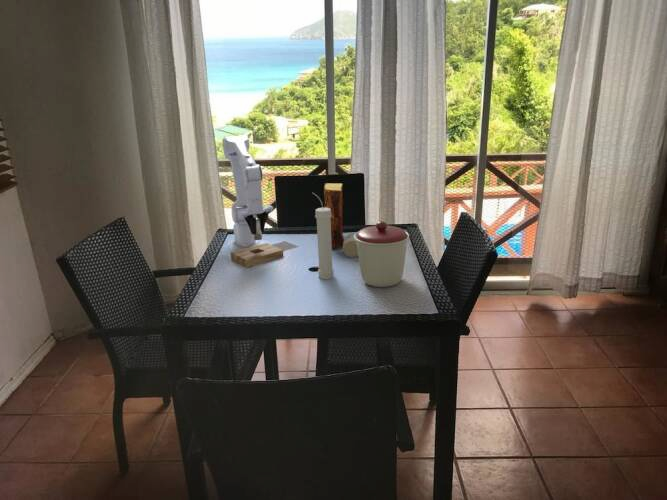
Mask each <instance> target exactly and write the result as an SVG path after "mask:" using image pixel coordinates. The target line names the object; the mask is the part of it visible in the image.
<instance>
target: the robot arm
mask: <svg viewBox="0 0 667 500" xmlns="http://www.w3.org/2000/svg"><path fill="white" fill-rule="evenodd" d="M222 148H223V155H224V158H225V159H226V160H229V162H230V166H231V172H232V178H233V183H234V189H235V195H236V199H235V201H234V202H233V203H232V204H231V207H230V209H231V216H232V222H233V223H234V224H233V227H232V228H233V237H234V240H232V242H233V243H235V244H237V245H239V246H242V247H243V248H245V247H250V246H254V245H256V244H257V245H258V244H261V240H254V235H255V234H256V227H255V224H256V218H260V219H261V231H262V233H264V232H265V227H266V223H267V221H268V219H269V212H271V213H272V212H274V206H272V205H266V206H264V203H263V191H262V181H263V170H262V169H263V168H262V167H261V164H257V163H256V161H255V158H254V157H253V156H252V155H251V154H249V149H250V139H249V137H248V136H247V135H246V134H244V135H235V136H224V137H222Z"/></svg>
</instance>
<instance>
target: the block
mask: <svg viewBox="0 0 667 500" xmlns="http://www.w3.org/2000/svg"><path fill="white" fill-rule="evenodd" d="M283 257H284V251H283V250H282V249H280V248H277V247H275V246H272V244H270V243H267V242H263V243H259V244H257V245H256V244H255V245H251V246H248V247H246V248H245V247H244V248H242V249H238V250H234V251H231V252H230V258H231V261H234V262H235V263H237V264H238V265H242V266H243V267H245V268H247V269H248V268H252V267H253V266H256V265H259V264H261V263H265V262H269V261H272V260H276V259H279V258H283Z"/></svg>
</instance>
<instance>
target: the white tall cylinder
mask: <svg viewBox="0 0 667 500" xmlns="http://www.w3.org/2000/svg"><path fill="white" fill-rule="evenodd" d="M311 193H312V194H313V195H315V196H316V197H317V199H318V200H319V201H320V203H321V206H322V207H318V208H316V209H315V215H314V219H315V218H316V230H317V231H316V235H317V251H318V253H317V254H318V269H317V273H318V278H319V279H321V280H330V279H333V277H334V276H335V275H334V273H335V270H334V267H333V253H332V252H333V249H332V244H331V219H330V218H331V217H332V214H331V209H330V208H325V207H324V206H323V201H322V200H321V198H320V196H318V195H317V194H315V193H314V192H311Z"/></svg>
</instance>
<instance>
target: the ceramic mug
mask: <svg viewBox="0 0 667 500" xmlns="http://www.w3.org/2000/svg"><path fill="white" fill-rule="evenodd" d="M355 233H356V232H354V233H353V232H352V233H349V234H347V235H346V236H345V237H344V243H343V246H342V251H343V253H344V255H345V256H346V257H349V258H352V259H353V258H354V259H355V258H357V257H358V250H357V242H356V240H355V238H354V235H355Z"/></svg>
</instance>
